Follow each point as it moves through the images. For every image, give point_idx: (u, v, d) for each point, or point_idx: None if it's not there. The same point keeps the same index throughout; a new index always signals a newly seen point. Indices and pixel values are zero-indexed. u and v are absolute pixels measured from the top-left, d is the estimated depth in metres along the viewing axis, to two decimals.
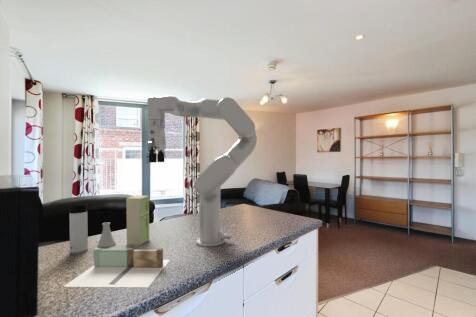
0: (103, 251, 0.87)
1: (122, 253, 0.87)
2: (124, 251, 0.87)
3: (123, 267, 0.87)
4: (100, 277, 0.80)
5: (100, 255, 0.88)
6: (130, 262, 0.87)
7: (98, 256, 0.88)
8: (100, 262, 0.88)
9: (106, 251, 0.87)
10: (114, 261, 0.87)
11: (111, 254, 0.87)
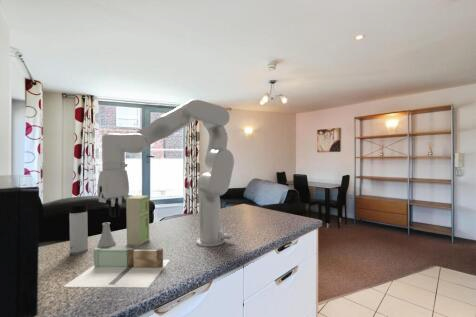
0: (103, 251, 0.87)
1: (122, 253, 0.87)
2: (124, 251, 0.87)
3: (123, 267, 0.87)
4: (100, 277, 0.80)
5: (100, 255, 0.88)
6: (130, 262, 0.87)
7: (98, 256, 0.88)
8: (100, 262, 0.88)
9: (106, 251, 0.87)
10: (114, 261, 0.87)
11: (111, 254, 0.87)
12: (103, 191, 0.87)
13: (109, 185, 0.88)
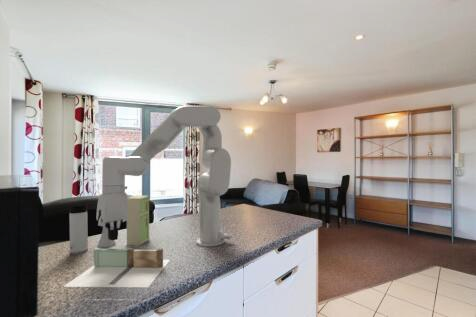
0: (103, 251, 0.87)
1: (122, 253, 0.87)
2: (124, 251, 0.87)
3: (123, 267, 0.87)
4: (100, 277, 0.80)
5: (100, 255, 0.88)
6: (130, 262, 0.87)
7: (98, 256, 0.88)
8: (100, 262, 0.88)
9: (106, 251, 0.87)
10: (114, 261, 0.87)
11: (111, 254, 0.87)
12: (102, 215, 0.87)
13: (108, 209, 0.88)
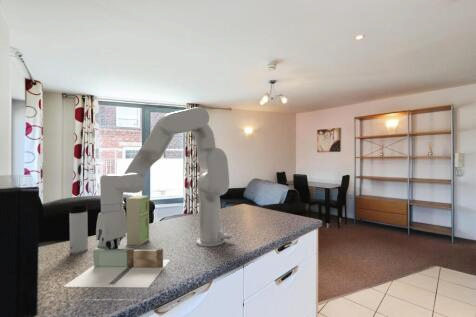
0: (103, 251, 0.87)
1: (122, 253, 0.87)
2: (124, 251, 0.87)
3: (123, 267, 0.87)
4: (100, 277, 0.80)
5: (100, 255, 0.87)
6: (130, 262, 0.87)
7: (98, 256, 0.87)
8: (100, 262, 0.87)
9: (106, 251, 0.87)
10: (114, 261, 0.87)
11: (111, 254, 0.87)
12: (103, 234, 0.86)
13: (109, 228, 0.87)
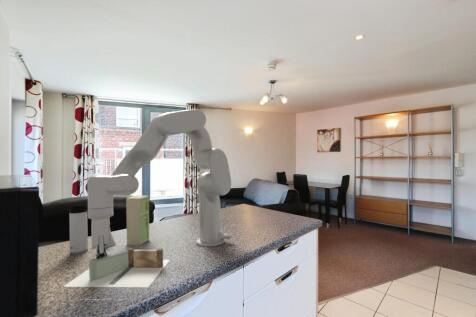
0: (102, 259, 0.80)
1: (123, 255, 0.85)
2: (126, 252, 0.86)
3: None
4: (100, 277, 0.80)
5: (98, 265, 0.79)
6: (130, 262, 0.87)
7: (96, 267, 0.79)
8: (98, 273, 0.79)
9: (106, 258, 0.81)
10: (115, 267, 0.83)
11: (112, 259, 0.82)
12: (106, 240, 0.80)
13: (109, 232, 0.82)
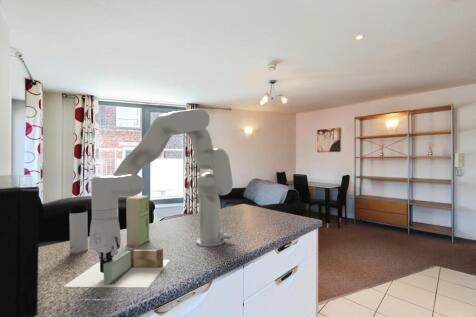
0: (115, 262, 0.78)
1: (128, 255, 0.85)
2: (129, 252, 0.86)
3: None
4: (100, 277, 0.80)
5: (112, 268, 0.77)
6: None
7: (111, 270, 0.76)
8: (112, 276, 0.77)
9: (117, 260, 0.79)
10: (123, 268, 0.82)
11: (120, 261, 0.81)
12: (119, 241, 0.79)
13: None
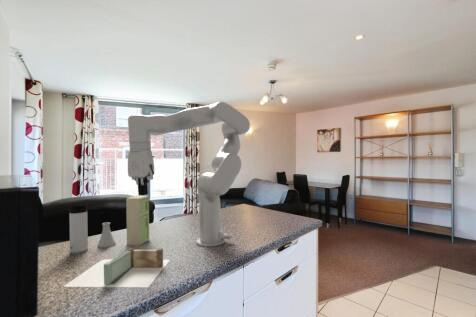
0: (115, 262, 0.78)
1: (128, 255, 0.85)
2: (129, 252, 0.86)
3: None
4: (100, 277, 0.80)
5: (113, 268, 0.77)
6: None
7: (111, 270, 0.76)
8: (113, 276, 0.77)
9: (117, 260, 0.79)
10: (123, 268, 0.82)
11: (121, 261, 0.81)
12: (153, 168, 0.95)
13: None
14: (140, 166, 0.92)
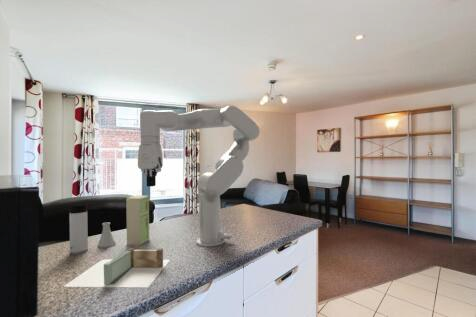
0: (115, 262, 0.78)
1: (128, 255, 0.85)
2: (129, 252, 0.86)
3: None
4: (100, 277, 0.80)
5: (113, 268, 0.77)
6: None
7: (111, 270, 0.76)
8: (113, 276, 0.77)
9: (117, 260, 0.79)
10: (123, 268, 0.82)
11: (121, 261, 0.81)
12: (162, 161, 1.00)
13: None
14: (149, 158, 0.98)
